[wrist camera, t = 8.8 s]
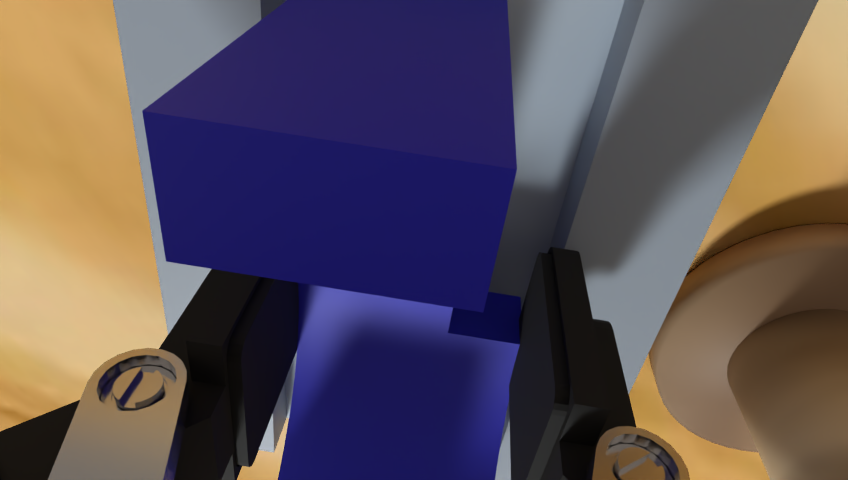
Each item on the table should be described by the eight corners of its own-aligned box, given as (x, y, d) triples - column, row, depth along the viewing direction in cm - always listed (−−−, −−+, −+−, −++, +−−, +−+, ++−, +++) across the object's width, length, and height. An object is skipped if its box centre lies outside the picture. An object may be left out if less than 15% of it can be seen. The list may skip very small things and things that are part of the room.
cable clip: (474, 462, 16) (464, 732, 11) (313, 436, 16) (233, 693, 11) (598, 12, 10) (707, 198, 5) (324, -29, 10) (142, 111, 5)
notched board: (776, -74, 10) (842, -52, 8) (567, 429, 18) (576, 501, 16) (161, -169, 11) (85, -170, 9) (218, 373, 18) (185, 438, 16)
